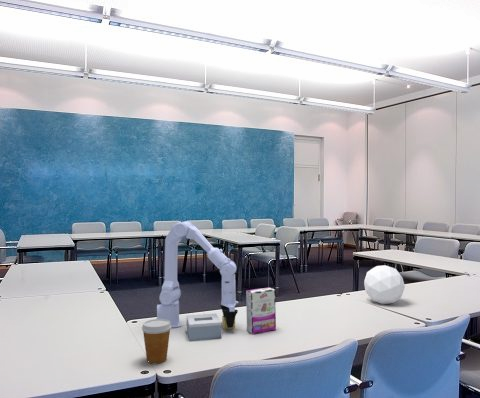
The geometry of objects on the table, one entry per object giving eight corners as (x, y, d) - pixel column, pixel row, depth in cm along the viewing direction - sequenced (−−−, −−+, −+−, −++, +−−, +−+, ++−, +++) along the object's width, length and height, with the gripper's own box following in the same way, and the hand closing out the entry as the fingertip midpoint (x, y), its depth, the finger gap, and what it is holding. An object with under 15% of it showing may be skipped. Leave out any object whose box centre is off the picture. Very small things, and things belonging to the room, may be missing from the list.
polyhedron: (391, 314, 198) (415, 284, 198) (383, 309, 183) (409, 275, 182) (361, 291, 210) (384, 262, 210) (351, 284, 194) (375, 253, 194)
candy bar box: (269, 326, 158) (269, 286, 159) (276, 330, 154) (276, 289, 154) (245, 331, 153) (245, 289, 153) (251, 334, 149) (251, 292, 149)
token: (223, 329, 155) (223, 317, 155) (222, 328, 157) (222, 315, 157) (235, 328, 156) (235, 316, 156) (234, 327, 158) (234, 315, 158)
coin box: (189, 340, 142) (189, 324, 142) (186, 330, 154) (186, 315, 154) (221, 338, 145) (221, 322, 145) (216, 328, 157) (216, 313, 157)
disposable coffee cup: (144, 354, 129) (144, 319, 129) (172, 353, 130) (172, 318, 130) (139, 366, 120) (139, 327, 120) (170, 365, 121) (170, 326, 121)
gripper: (242, 294, 151) (242, 329, 151) (234, 287, 165) (234, 319, 165) (224, 295, 149) (224, 331, 149) (218, 288, 163) (218, 320, 163)
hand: (228, 324), depth 157 cm, fingers open, 6 cm apart
